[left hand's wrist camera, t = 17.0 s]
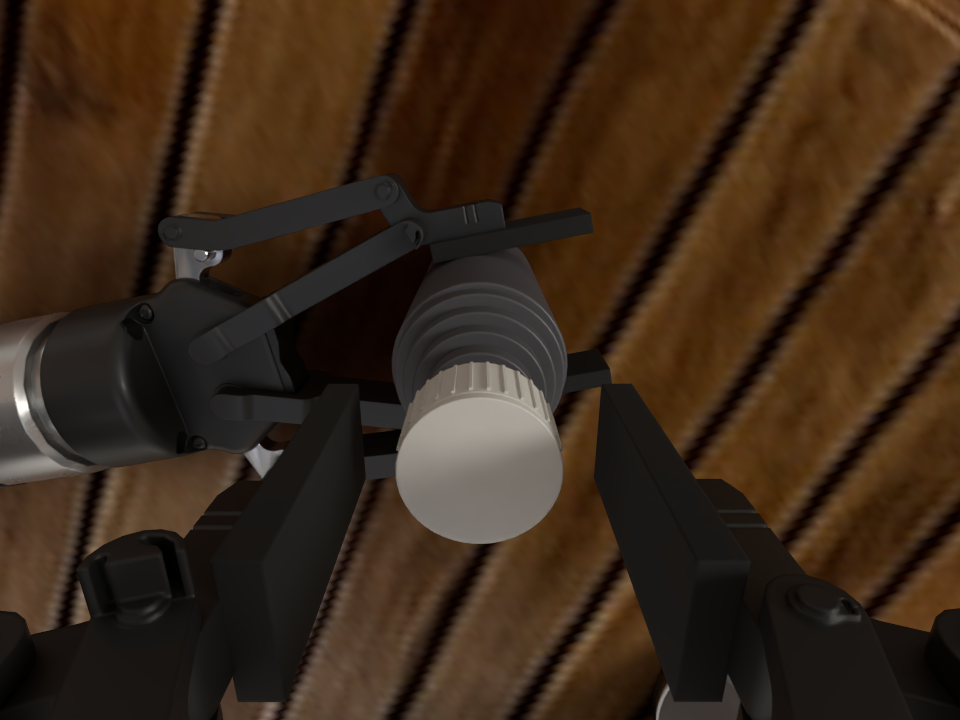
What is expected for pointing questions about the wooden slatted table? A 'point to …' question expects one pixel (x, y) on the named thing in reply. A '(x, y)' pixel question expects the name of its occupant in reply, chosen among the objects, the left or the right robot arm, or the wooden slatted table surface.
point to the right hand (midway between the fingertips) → (594, 296)
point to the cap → (479, 454)
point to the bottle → (480, 325)
